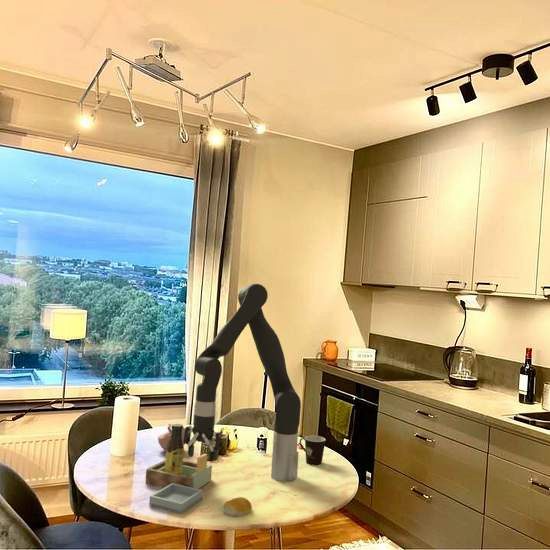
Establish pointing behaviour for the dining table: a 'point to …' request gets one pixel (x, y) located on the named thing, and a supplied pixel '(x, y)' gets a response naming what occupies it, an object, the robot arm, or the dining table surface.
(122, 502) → the dining table surface
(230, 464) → the dining table surface
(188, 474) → the caddy
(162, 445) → the pinkish brown apple
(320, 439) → the coffee mug
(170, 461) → the sauce bottle
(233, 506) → the bread roll
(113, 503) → the dining table surface
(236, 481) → the dining table surface
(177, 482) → the walnut bay
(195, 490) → the tray
